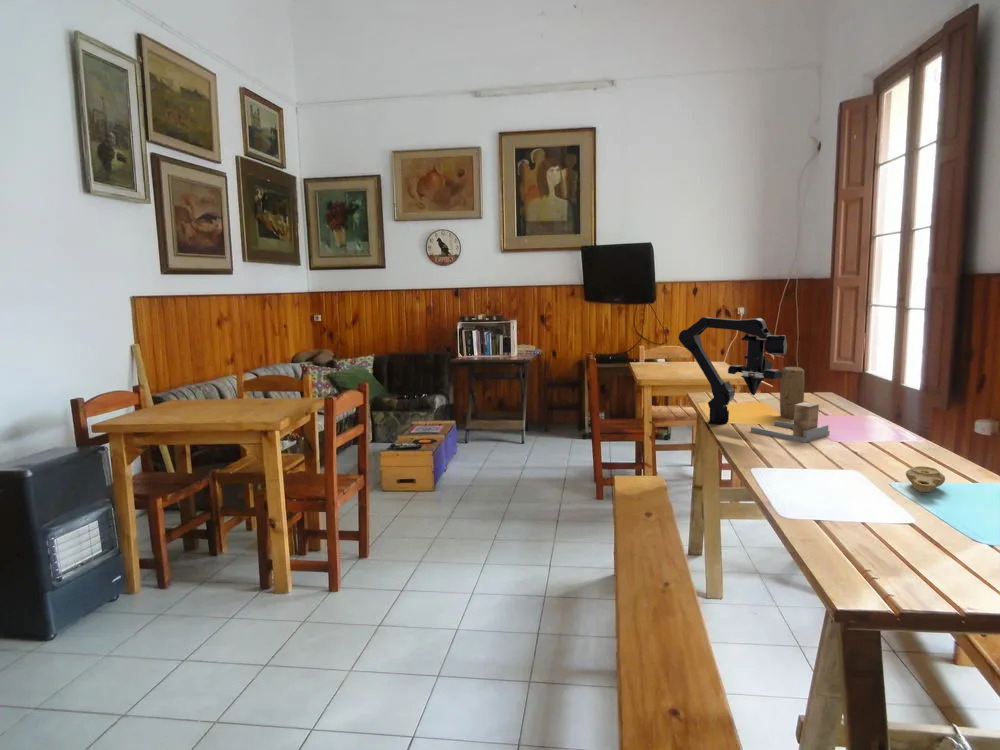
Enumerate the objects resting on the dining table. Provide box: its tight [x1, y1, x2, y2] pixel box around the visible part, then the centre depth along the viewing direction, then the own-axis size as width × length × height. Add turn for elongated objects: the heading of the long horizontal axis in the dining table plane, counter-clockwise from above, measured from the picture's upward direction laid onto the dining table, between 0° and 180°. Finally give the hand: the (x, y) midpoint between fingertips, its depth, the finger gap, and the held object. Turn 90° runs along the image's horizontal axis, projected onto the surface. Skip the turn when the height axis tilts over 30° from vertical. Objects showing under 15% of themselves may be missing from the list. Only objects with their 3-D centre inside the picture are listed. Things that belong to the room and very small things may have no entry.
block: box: [779, 366, 805, 421], centre depth 245 cm, size 11×8×20 cm
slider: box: [792, 401, 819, 437], centre depth 213 cm, size 5×6×11 cm
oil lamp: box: [905, 465, 946, 493], centre depth 164 cm, size 11×14×5 cm
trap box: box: [750, 419, 831, 444], centre depth 218 cm, size 19×16×5 cm
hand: (753, 394), depth 232 cm, fingers closed
